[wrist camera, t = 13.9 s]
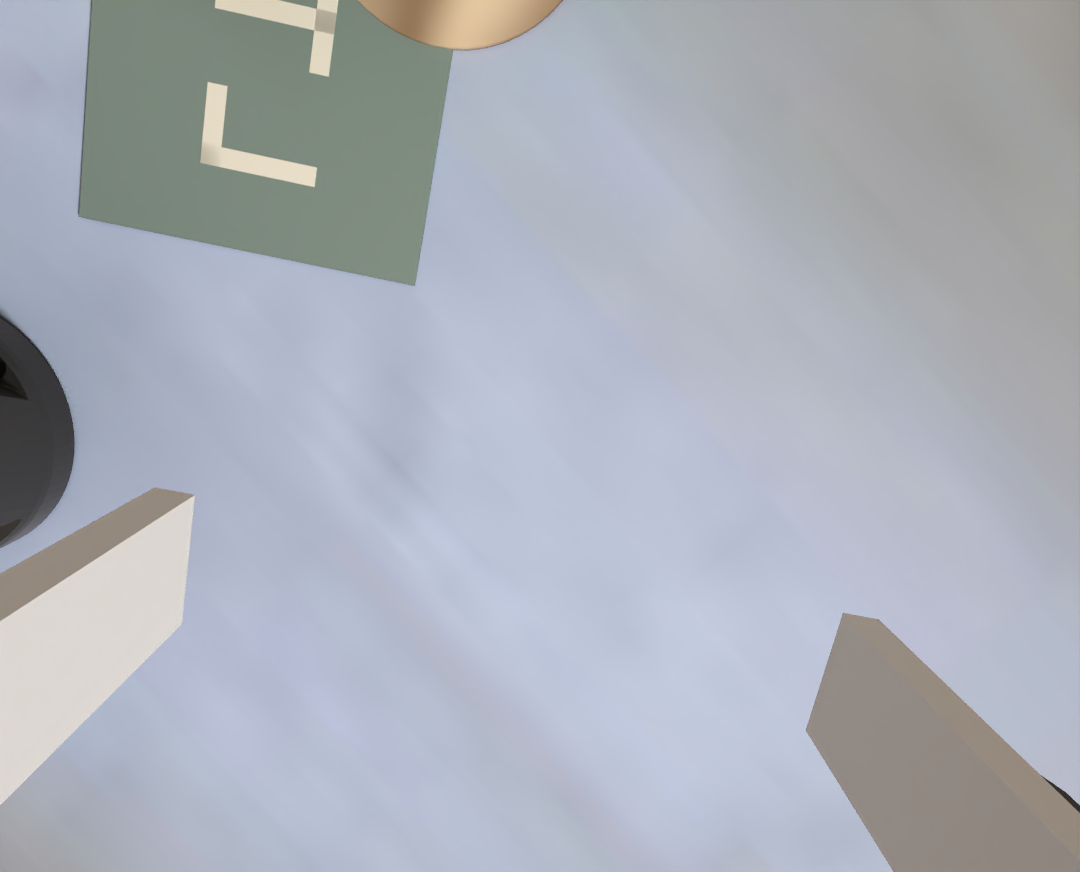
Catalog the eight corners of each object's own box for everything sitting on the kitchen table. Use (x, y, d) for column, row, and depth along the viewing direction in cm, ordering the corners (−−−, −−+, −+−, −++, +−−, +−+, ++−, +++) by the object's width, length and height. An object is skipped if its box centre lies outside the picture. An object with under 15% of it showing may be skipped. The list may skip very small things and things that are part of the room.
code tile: (80, 217, 37) (78, 216, 37) (104, -167, 34) (102, -169, 34) (414, 285, 39) (414, 285, 38) (473, -78, 35) (473, -80, 35)
